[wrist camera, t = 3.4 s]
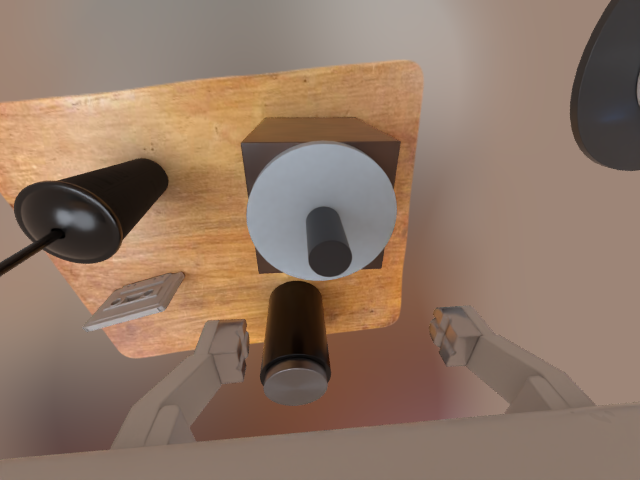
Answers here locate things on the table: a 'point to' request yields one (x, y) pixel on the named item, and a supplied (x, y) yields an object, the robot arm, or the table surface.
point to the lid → (321, 210)
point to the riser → (294, 131)
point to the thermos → (295, 346)
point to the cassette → (136, 301)
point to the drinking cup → (86, 212)
